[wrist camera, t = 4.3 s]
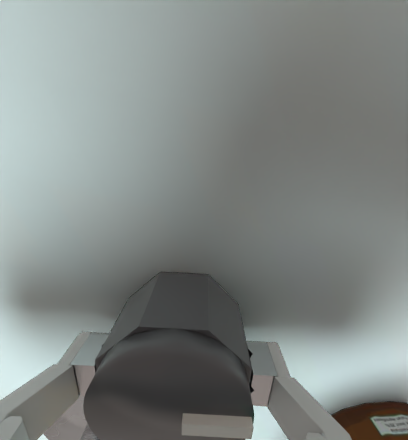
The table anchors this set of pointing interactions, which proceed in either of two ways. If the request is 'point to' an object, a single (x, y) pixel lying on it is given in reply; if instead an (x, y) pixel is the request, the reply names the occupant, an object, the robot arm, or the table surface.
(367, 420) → the food container
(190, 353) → the knob
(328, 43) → the table surface
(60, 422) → the d-shaft hub
